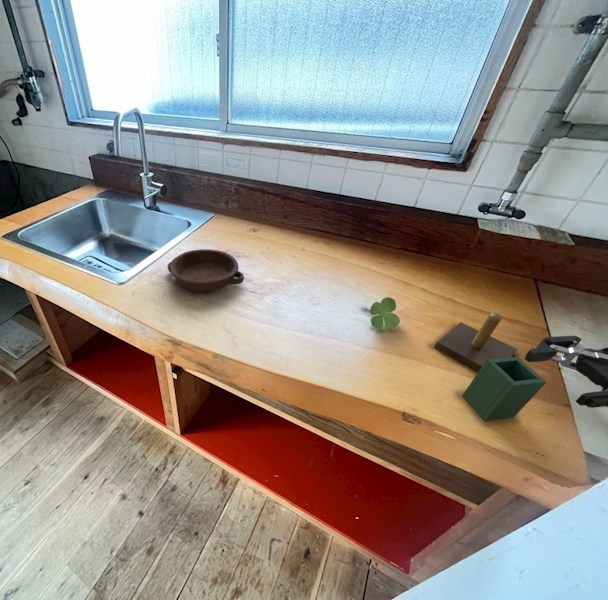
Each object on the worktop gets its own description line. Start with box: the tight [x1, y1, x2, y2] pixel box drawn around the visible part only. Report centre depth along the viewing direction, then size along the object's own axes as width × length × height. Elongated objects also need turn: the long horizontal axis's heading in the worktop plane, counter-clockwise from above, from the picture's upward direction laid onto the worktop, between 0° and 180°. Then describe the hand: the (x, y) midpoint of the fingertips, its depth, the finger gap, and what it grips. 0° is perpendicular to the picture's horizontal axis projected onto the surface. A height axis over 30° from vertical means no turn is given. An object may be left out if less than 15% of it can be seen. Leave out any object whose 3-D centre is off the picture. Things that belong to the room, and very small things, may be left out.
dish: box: [166, 248, 245, 293], centre depth 86 cm, size 18×22×5 cm
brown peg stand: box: [433, 312, 519, 373], centre depth 61 cm, size 10×10×9 cm
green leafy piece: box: [364, 296, 401, 330], centre depth 72 cm, size 7×8×7 cm
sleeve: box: [461, 356, 547, 422], centre depth 51 cm, size 5×5×9 cm
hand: (553, 376), depth 50 cm, fingers open, 8 cm apart
